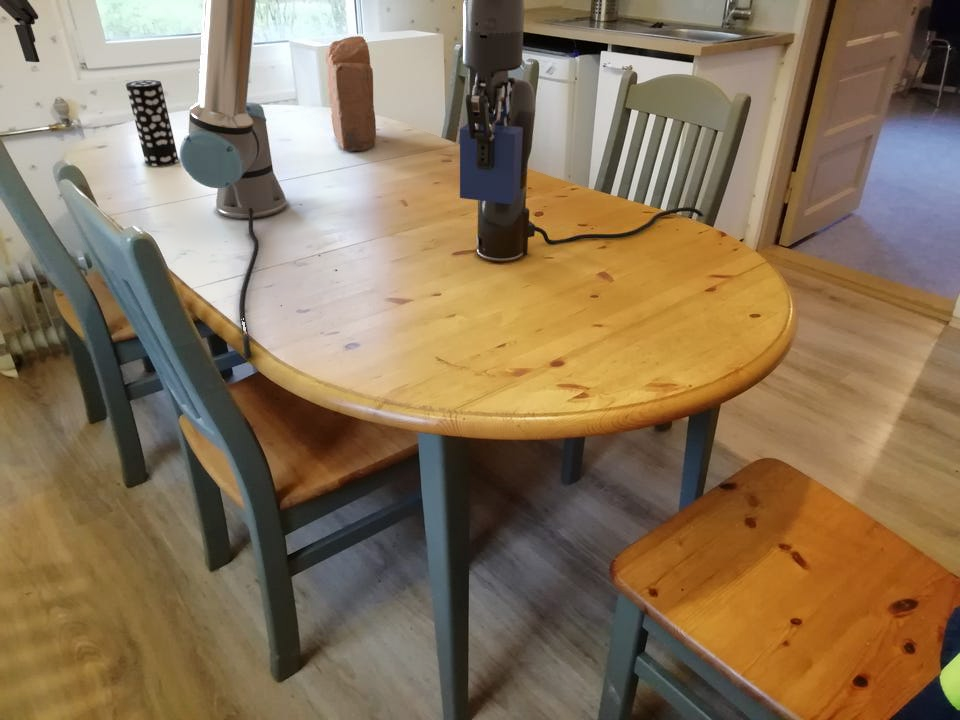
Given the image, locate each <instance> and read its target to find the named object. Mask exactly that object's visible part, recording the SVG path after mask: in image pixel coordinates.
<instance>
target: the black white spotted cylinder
mask: <svg viewBox="0 0 960 720" xmlns="http://www.w3.org/2000/svg"><path fill="white" fill-rule="evenodd" d="M125 87H126V91H127V95H128V99H129V103H130V107H131V110H132V115H133V118H134V122H135V123H134V124H135V127H136V130H137V134H138V139H139V143H140V146H141V150H142V155H143V158H144V163H145V164H146V165H147V166H151V167H164V166H170V165H174V164H176V163H178V162H179V155H178V150H177V146H176V142H175V137H174V133H173V128H172V125H171V121H170V116H169V111H168V107H167V103H166V98H165V93H164V89H163V84H162V81H161V80H155V79H154V80H153V79H151V80H150V79H145V80H144V79H141V80H134V81H130V82H129V81H128V82H127V83H126V84H125Z"/></svg>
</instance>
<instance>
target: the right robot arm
mask: <svg viewBox="0 0 960 720" xmlns="http://www.w3.org/2000/svg"><path fill="white" fill-rule="evenodd" d="M524 21H525V0H463V3H462V64H463V65H464V67H465V68H467V69H468V94H467V95H466V96H465V106H466V115H467V124H468V125H469V134H470V139H475V140H477V168H479V169H485V170H490V169H492V168H493V166H494V139H495V127H496V125H503V126H514V127H523V137H522V158H521V180H520V196H519V197H518V198H517V199H516V201H515V202H514V203H513V204H504V203H496V202H488V201H480V200H477V232H476V234H475V238H476V239H475V240H476V246H477V247H476V254H477V256H478V257H479V258H481V259H483V260H485V261H489V262H492V263H510V262H515V261H518V260H520V259H521V258H523V257H524V256H528V248H529V247H528V246H529V238H534V237H535V233H536V232H537V233H540V234H541V235H542V237H543V240H544V242H545V243H547V244H549V245H559V244H566V243H570V242H575V241H578V240H579V241H580V240H583V239H584V240H585V239H587V240H588V239H620V238H621V239H622V238H627V237H630V236H634V235H636V234H638V233H640V232H642V231H644V230H646V229H648V228H649V227H651V226H652V225H654V223H656V221H657V219H659V218H661V217H664V216H668V215H673V214H677V213H682V212H692V213H694V214H696V215H698V216H699V217H703V216H704V214H703V213H702V211H701V210H699V209H697V208H695V207H691V206H690V207H689V206H685V207H684V206H683V207H677V208H672V209H668V210H665V211H661V212H659V213H656V214H655V215H654V216H653V217H652V218H651V219H650V220H649V221H648V222H647V223H645V224H643V225H641V226H639V227H637V228H635V229H632V230H630V231H625V232H620V233H585V234H578V235H573V236H570V237H566V238H563V239H559V240H554V239H551V238H549V236H548V233H547V232H546V231H545V229H543V228H541V227H539V226H536V224H535V223H533V222H532V221H531V220H530V209H529V208H528V207H527V206H526V203H527V185H528V183H527V182H528V164H529V159H530V157H531V156H530V155H531V153H532V148H533V140H534V139H533V138H534V127H535V118H536V107H537V106H536V104H537V103H536V102H537V101H536V94H535V93H536V92H535V89H534V87H533V85H532V84H531V82H529V81H528V80H525V79H522V78H516V77H511V76H509V71H515V70H518V69H519V68H520V67H521V66H522V64H523V50H524V49H523V48H524V47H523V45H524V23H525V22H524ZM481 125H483V130H481Z"/></svg>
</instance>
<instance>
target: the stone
mask: <svg viewBox="0 0 960 720" xmlns="http://www.w3.org/2000/svg"><path fill="white" fill-rule="evenodd" d="M325 61H326V65H327V89H328V90H327V91H328V98H329V105H330V110H331V115H330V118H331V124H332V130H333V134H334V137H335V139H336V141H337V143H338V146H339V147H340V149H342V150H343V152H357V151H366V150H368V149H370V148H372V147H374V146H376V144H375V143H376V137H377V124H376V114H375V106H374V70H373V68H372V66H371V57H370V50H369V45H368V43H367V42H366V39H365V38H364V36H361V35H357V36H349V37H345V38H343V39H339V40H335V41H332V42H331V43H330V45H329V47H328V48H327V50H326V54H325Z"/></svg>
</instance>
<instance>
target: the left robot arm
mask: <svg viewBox="0 0 960 720" xmlns="http://www.w3.org/2000/svg"><path fill="white" fill-rule="evenodd" d="M256 3H257V0H203V14H202V15H203V16H202V17H203V18H202V33H201V36H202V37H201V52H200V53H201V55H200V69H199V71H200V73H199V92H198V102H197V103H195V104H194V105H193V106H191V107H190V109H189V119H188V133H187V135H186V136H184V138H183V140H182V142H181V144H180V148H179V159H180V162H181V165H182V167H183V168H184V170H185V172H186V173H188V175H189V176H190V177H191V178H192V179H193V180H194V181H196V182H197V183H199V184H200V185H203V186H205V187H207V188H212V189H217V193H216V201H215V203H216V205H215V206H216V210H217V213H218V214H219V215H221V216H223V217H225V218H229V219H236V220H248V233H249V236H250V238H251V239H252V242H253V252H252V254H251V258H250V262H249V264H248V266H247V270H246V273H245V276H244V280H243V283H242V286H241V290H240V297H239V308H238V311H239V323H240V328H241V334H242V343H243V350H244V351H243V352H244V356H245V359H251V357H252V352H251V347H250V337H249V331H248V325H247V321H246V312H245V311H246V297H247V291H248V287H249V283H250V280H251V276H252V272H253V271H254V268H255V265H256V261H257V258H258V253H259V248H260V245H259V239H258V238H257V237H256V235H255V232H254V219H260V218H261V219H262V218H265V217H266V218H267V217H270V216H274V215H276V214H278V213H280V212H282V211H283V210H285V209H286V207H287V199H286V194H285V193H284V191H283V189H282V187H281V184H280V182H279V180H278V179H277V177H276V175H275V172H274V167H273V160H272V154H271V147H270V140H269V135H268V134H269V133H268V127H267V118H266V115H265V110H264V107H263V106H262V105H261V104H259V103H256V102H248V93H249V92H248V91H249V83H250V82H249V80H250V71H251V59H252V46H253V38H254V37H253V36H254V27H255V26H254V25H255V13H256V5H257V4H256ZM0 8H2V10H4V11H5V12H6V13H7V14H8V15H9V16H10V17H11V18H12V19H13V20H14V21H15V22H16V23H17V24H14V25H13V26H14V29H15V32H16V35H17V38H18V41H19V44H20V47H21V51H22V54H23V57H24V60H25V62H28V63H40V58H39V55H38V51H37V48H36V45H35V44H36V36H35V34H34V30H33V27H32V26H33V25H35V24H36V21H35V20H39V15H38V13H37V11H36V10H35V9H34V7H33V6H32V5H31V3H30V1H29V0H0ZM243 318H244V320H243ZM241 319H242V320H241ZM242 321H243V322H245V327H246V332H247V335H248V336H247V335H246V334H245V335H243V333H244V331H243V325H242Z"/></svg>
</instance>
